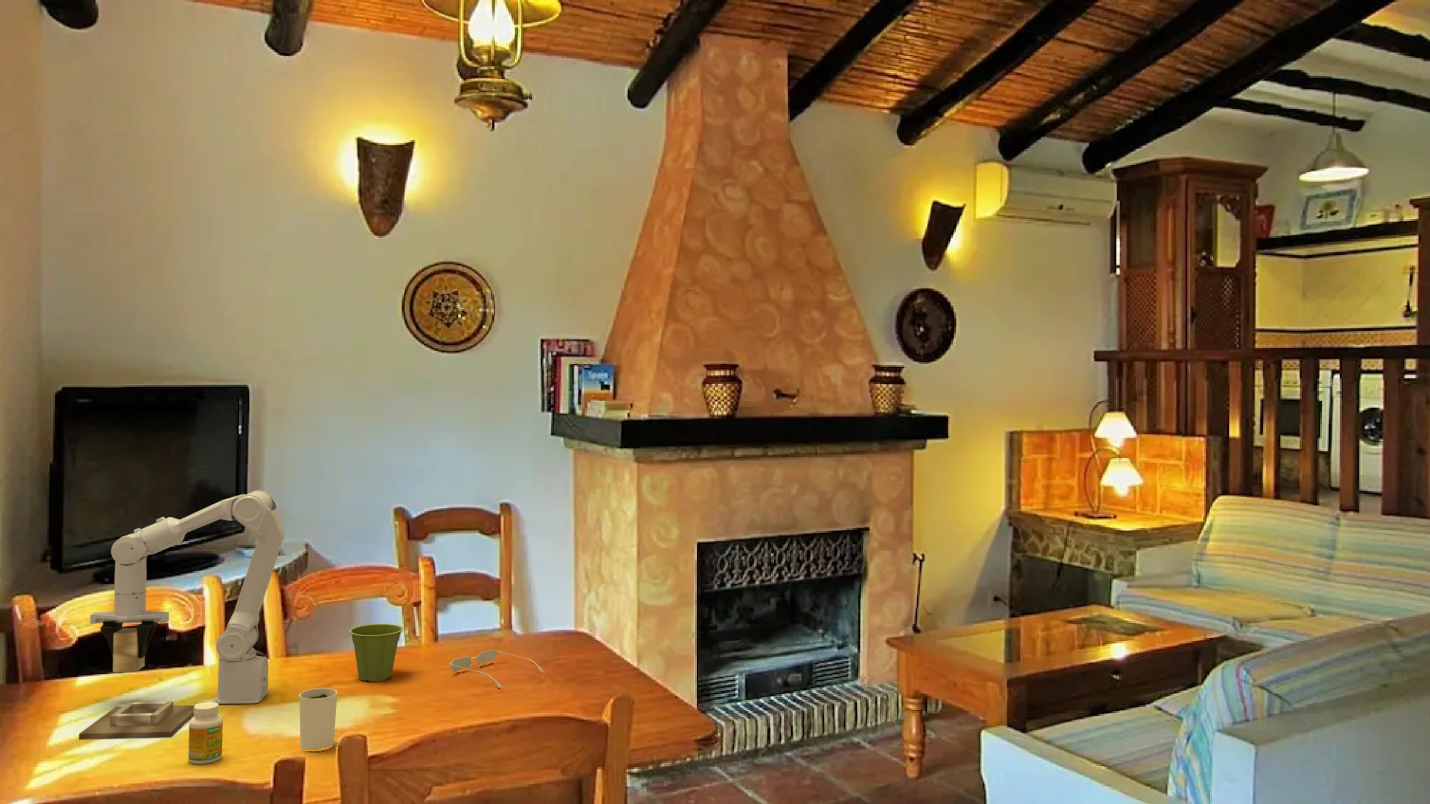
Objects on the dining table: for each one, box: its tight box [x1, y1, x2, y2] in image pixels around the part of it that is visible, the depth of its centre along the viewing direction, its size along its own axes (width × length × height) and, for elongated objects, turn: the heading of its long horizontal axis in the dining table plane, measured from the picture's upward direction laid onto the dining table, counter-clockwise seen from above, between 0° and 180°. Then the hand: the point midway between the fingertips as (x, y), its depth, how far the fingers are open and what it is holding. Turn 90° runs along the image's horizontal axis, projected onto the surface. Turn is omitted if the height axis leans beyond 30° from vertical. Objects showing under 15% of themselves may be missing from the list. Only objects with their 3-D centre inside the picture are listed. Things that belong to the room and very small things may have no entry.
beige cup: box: [298, 687, 338, 750], centre depth 189 cm, size 7×7×10 cm
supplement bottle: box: [187, 701, 224, 765], centre depth 181 cm, size 5×5×10 cm
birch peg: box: [112, 627, 146, 673], centre depth 210 cm, size 4×4×8 cm
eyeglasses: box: [448, 649, 544, 688], centre depth 237 cm, size 15×18×4 cm
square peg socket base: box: [78, 700, 196, 740], centre depth 198 cm, size 16×16×3 cm
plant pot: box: [348, 623, 404, 682], centre depth 232 cm, size 12×12×11 cm
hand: (129, 657), depth 210 cm, fingers closed on birch peg, 4 cm apart
